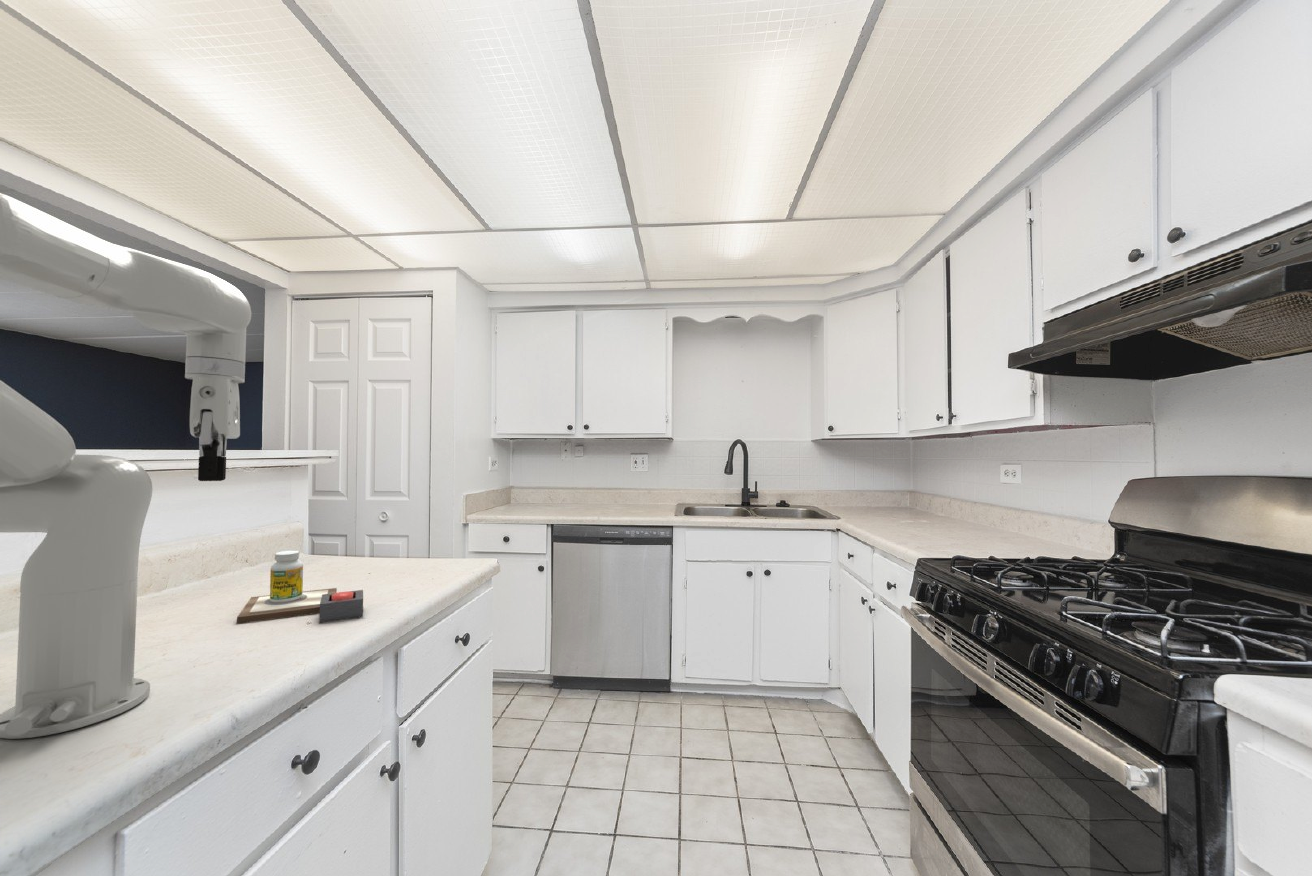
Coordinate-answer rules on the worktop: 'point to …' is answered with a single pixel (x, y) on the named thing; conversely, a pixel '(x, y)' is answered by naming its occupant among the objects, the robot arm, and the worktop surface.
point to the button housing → (341, 607)
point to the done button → (342, 596)
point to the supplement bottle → (286, 577)
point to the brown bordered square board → (282, 607)
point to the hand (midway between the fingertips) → (211, 480)
